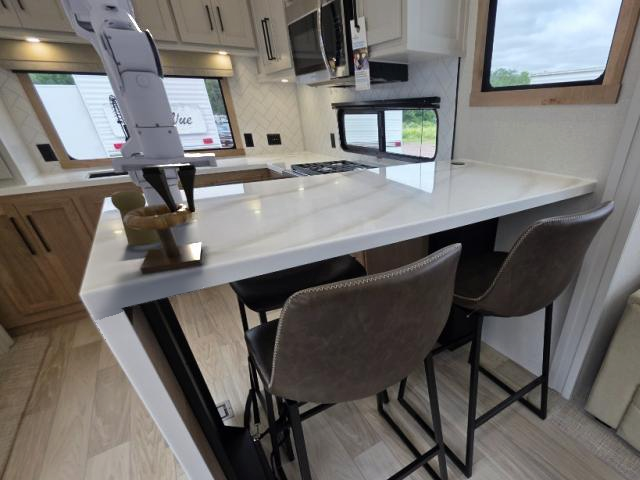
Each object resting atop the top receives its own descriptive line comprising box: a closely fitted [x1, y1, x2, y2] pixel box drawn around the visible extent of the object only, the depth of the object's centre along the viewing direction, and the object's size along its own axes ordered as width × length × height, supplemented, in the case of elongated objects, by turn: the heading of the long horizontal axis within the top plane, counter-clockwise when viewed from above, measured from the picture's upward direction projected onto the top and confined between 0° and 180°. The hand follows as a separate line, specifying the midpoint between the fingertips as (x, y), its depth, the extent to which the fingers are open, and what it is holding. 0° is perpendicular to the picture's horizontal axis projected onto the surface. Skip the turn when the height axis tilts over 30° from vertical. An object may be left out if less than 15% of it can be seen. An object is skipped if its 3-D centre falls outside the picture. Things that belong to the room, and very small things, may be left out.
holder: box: [139, 227, 204, 275], centre depth 60 cm, size 9×9×7 cm
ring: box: [123, 204, 194, 230], centre depth 58 cm, size 10×10×2 cm
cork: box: [110, 189, 160, 247], centre depth 65 cm, size 6×6×11 cm
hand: (183, 211), depth 59 cm, fingers closed on ring, 2 cm apart
